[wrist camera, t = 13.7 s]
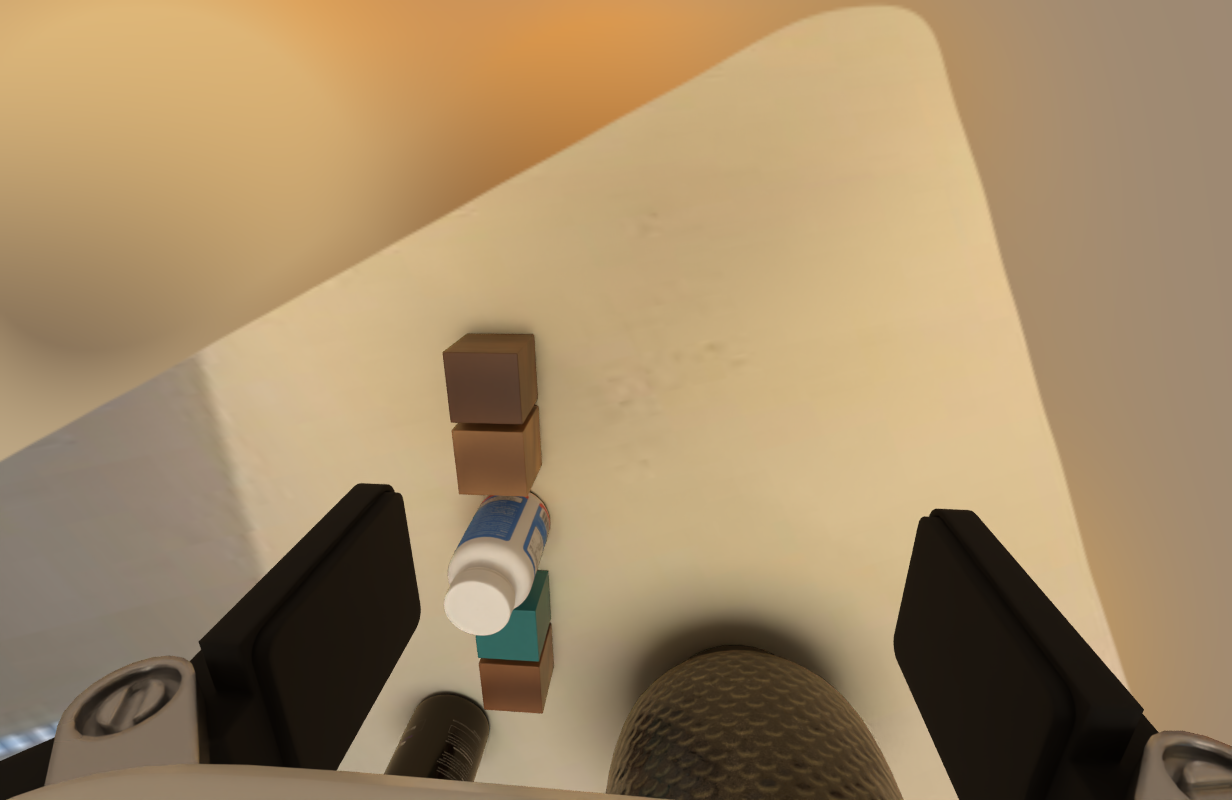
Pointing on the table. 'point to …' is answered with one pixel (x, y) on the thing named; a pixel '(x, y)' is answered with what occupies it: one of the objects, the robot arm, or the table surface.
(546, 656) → the block
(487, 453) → the block
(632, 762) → the planter
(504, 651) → the block
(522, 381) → the block
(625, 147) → the table surface
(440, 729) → the supplement bottle
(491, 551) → the pill bottle
